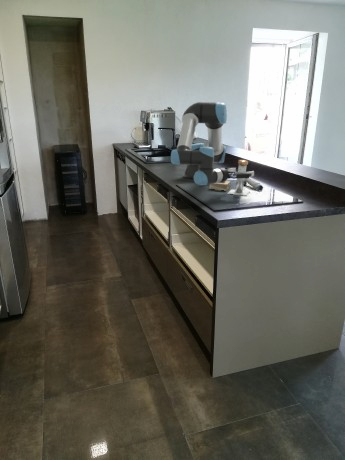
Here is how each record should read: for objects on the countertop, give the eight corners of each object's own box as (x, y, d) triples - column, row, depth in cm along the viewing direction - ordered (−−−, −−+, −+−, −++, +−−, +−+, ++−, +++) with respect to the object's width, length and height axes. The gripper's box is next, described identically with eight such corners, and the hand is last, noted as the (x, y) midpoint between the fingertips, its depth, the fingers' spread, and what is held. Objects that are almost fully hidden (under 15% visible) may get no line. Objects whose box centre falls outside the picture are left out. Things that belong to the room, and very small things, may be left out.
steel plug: (235, 189, 206) (239, 159, 198) (244, 190, 204) (248, 160, 197) (233, 192, 201) (237, 161, 193) (242, 193, 200) (247, 162, 192)
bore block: (213, 186, 220) (214, 179, 219) (230, 187, 217) (230, 181, 215) (209, 189, 211) (209, 182, 210) (226, 191, 207) (227, 184, 206)
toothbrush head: (256, 185, 207) (238, 172, 229) (255, 195, 210) (237, 181, 232) (264, 184, 209) (245, 171, 230) (262, 195, 212) (244, 181, 233)
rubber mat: (231, 190, 209) (231, 189, 209) (249, 192, 206) (249, 191, 206) (227, 194, 200) (227, 193, 200) (246, 196, 196) (246, 195, 196)
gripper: (202, 178, 198) (227, 175, 211) (235, 186, 180) (260, 181, 193) (202, 165, 196) (228, 162, 209) (236, 172, 178) (262, 168, 190)
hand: (244, 171), depth 201 cm, fingers open, 13 cm apart
